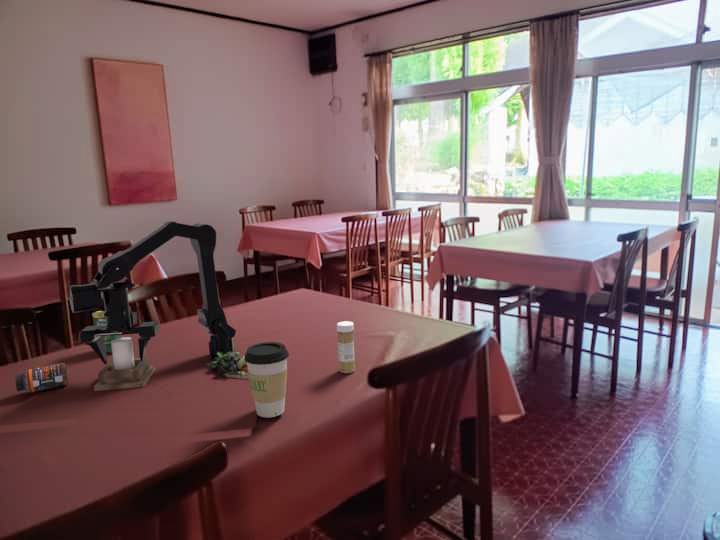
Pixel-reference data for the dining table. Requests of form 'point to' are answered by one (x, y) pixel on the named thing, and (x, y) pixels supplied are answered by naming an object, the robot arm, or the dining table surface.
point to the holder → (124, 376)
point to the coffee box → (101, 320)
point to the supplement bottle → (42, 378)
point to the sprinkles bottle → (346, 347)
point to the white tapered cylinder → (123, 353)
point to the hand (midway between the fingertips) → (124, 362)
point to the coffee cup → (268, 377)
